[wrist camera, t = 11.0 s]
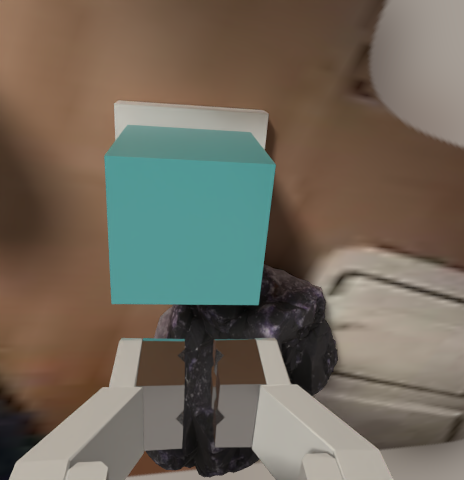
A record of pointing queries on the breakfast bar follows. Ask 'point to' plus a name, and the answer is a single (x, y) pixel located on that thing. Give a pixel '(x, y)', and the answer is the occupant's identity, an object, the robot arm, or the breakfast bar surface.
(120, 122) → the square base with post
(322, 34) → the breakfast bar surface
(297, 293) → the dark grey rock
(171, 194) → the turquoise cube
